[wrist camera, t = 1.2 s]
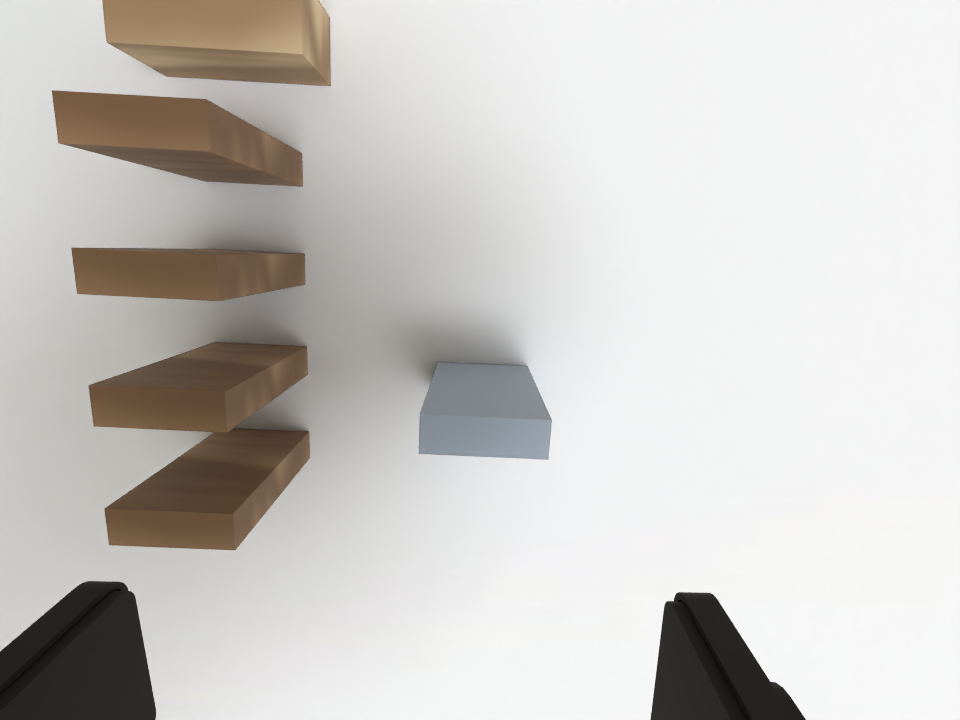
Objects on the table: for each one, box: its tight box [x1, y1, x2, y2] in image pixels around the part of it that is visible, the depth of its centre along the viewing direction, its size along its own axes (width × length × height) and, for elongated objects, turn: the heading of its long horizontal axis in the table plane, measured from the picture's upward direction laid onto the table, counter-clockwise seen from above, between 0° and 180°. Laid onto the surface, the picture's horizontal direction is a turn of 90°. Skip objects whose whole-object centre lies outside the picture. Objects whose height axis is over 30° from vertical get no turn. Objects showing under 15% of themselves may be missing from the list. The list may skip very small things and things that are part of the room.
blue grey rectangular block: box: [419, 362, 552, 460], centre depth 23 cm, size 2×5×9 cm, turn 87°
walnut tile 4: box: [52, 91, 303, 187], centre depth 21 cm, size 2×5×9 cm, turn 87°
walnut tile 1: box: [105, 428, 310, 550], centre depth 24 cm, size 2×5×9 cm, turn 87°
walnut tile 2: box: [89, 342, 308, 432], centre depth 23 cm, size 2×5×9 cm, turn 87°
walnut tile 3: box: [72, 248, 305, 301], centre depth 22 cm, size 2×5×9 cm, turn 87°
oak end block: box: [102, 0, 331, 86], centre depth 22 cm, size 3×8×4 cm, turn 87°
